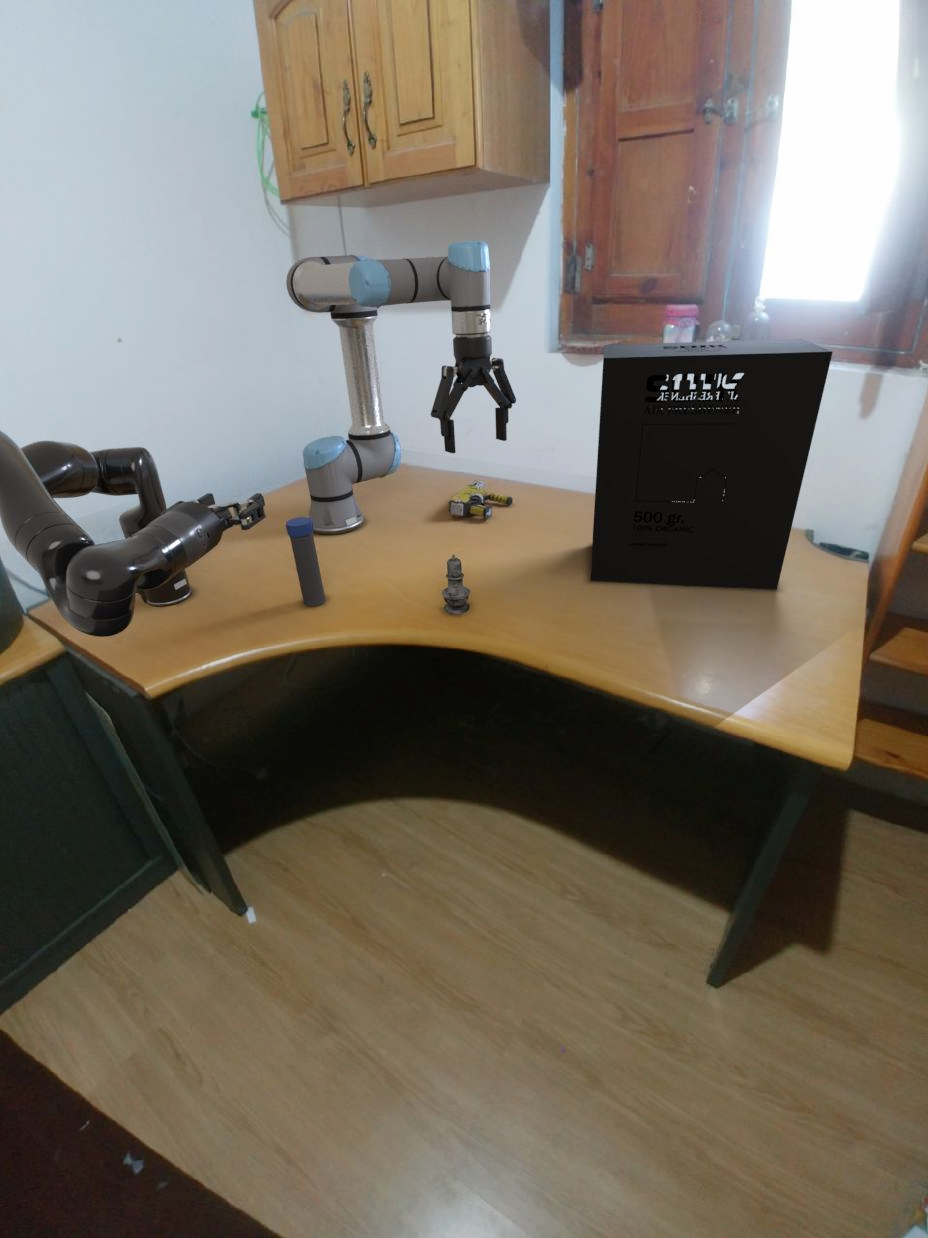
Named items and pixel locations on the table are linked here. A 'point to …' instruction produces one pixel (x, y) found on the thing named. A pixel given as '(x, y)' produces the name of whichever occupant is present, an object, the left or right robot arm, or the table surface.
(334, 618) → the table surface
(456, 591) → the dark grey chess piece
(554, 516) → the table surface
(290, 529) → the lid
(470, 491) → the toy gun
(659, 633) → the table surface
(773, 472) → the cardboard box
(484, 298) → the right robot arm
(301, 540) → the dark gray cylinder
